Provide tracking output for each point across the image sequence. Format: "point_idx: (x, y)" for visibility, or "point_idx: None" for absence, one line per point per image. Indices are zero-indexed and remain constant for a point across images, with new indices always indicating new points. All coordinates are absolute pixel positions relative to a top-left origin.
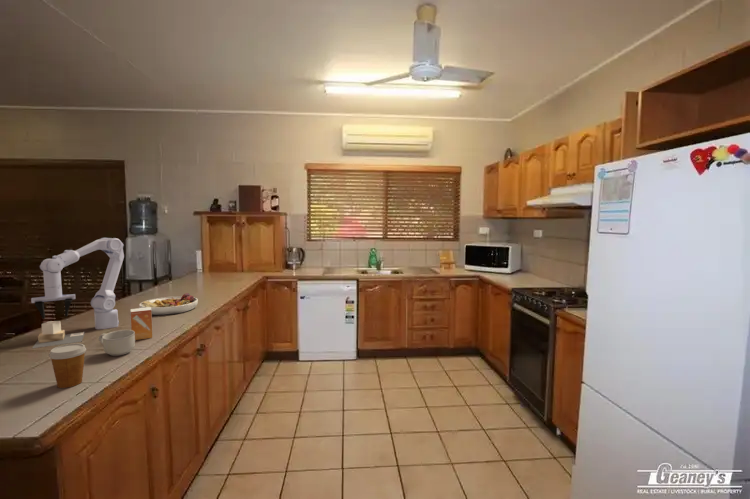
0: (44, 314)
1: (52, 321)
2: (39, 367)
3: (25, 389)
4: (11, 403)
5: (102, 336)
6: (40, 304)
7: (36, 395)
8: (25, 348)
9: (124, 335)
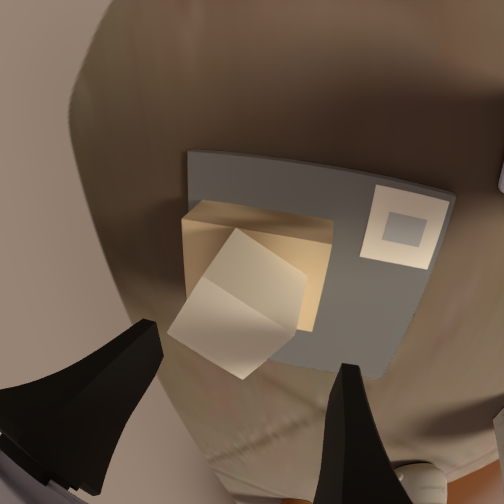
0: (138, 363)
1: (229, 304)
2: (250, 456)
3: (243, 489)
4: (236, 497)
5: None
6: (89, 489)
7: (259, 500)
8: (166, 291)
9: (437, 493)
